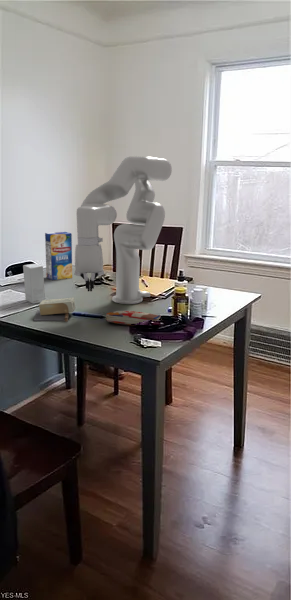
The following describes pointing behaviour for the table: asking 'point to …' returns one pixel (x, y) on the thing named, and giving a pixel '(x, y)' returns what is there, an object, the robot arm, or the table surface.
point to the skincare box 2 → (57, 306)
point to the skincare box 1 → (34, 283)
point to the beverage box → (58, 255)
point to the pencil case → (130, 317)
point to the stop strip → (66, 317)
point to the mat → (49, 317)
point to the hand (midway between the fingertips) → (89, 290)
